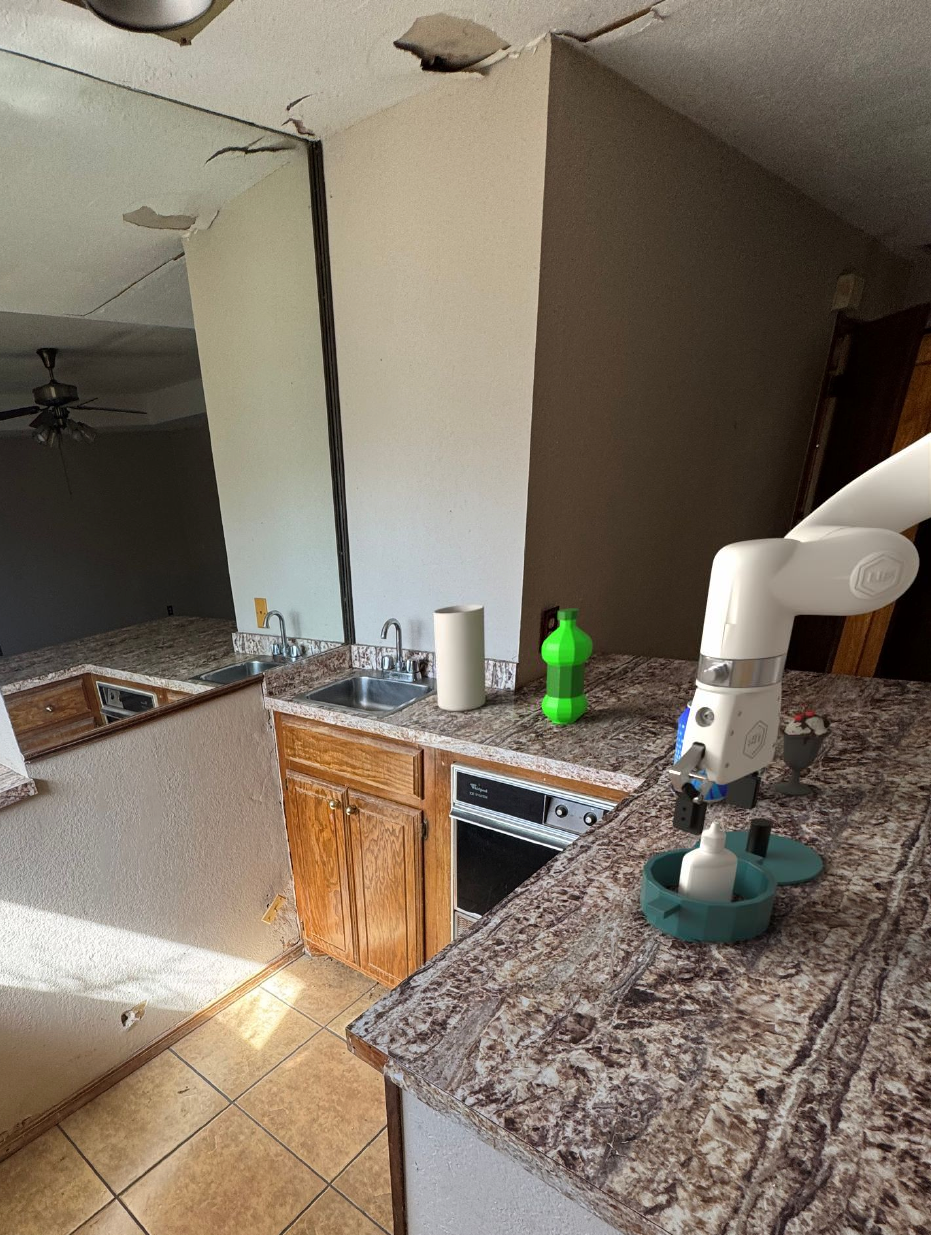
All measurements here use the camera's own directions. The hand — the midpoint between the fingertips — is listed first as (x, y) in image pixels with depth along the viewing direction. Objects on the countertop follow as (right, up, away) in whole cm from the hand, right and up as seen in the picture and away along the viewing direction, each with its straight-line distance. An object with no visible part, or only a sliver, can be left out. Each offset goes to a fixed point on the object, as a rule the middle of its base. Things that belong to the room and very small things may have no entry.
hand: (714, 818), depth 75 cm
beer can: (+19, +4, +33) cm, 38 cm away
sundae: (+33, +5, +31) cm, 46 cm away
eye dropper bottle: (+2, -11, +6) cm, 13 cm away
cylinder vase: (-5, +33, +100) cm, 105 cm away
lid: (+14, -5, +14) cm, 21 cm away
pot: (+2, -12, +6) cm, 13 cm away
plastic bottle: (+14, +25, +77) cm, 83 cm away
